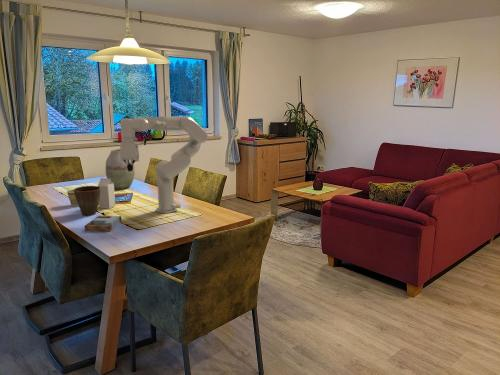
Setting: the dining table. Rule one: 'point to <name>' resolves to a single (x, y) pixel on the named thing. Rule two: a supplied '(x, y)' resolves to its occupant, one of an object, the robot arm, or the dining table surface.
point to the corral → (99, 227)
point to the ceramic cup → (72, 198)
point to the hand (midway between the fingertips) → (130, 170)
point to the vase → (118, 171)
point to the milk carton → (106, 193)
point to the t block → (107, 221)
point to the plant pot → (87, 199)
